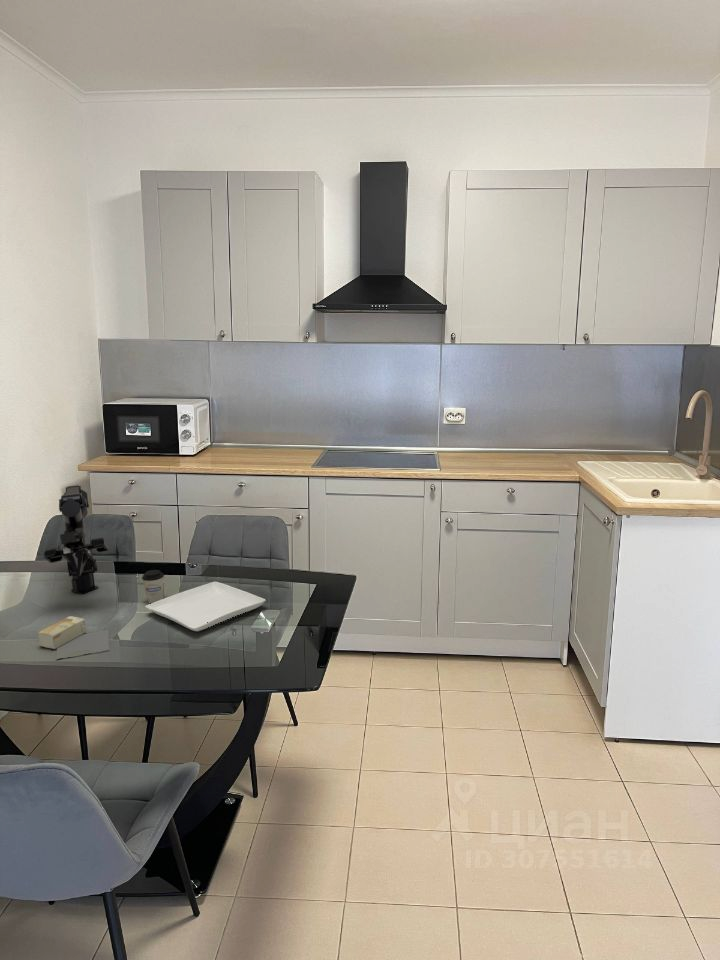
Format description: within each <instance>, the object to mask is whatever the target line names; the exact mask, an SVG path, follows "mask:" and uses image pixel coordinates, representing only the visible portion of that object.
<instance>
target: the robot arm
mask: <svg viewBox="0 0 720 960" xmlns="http://www.w3.org/2000/svg"><path fill="white" fill-rule="evenodd" d="M88 508H90V502H89V496H88V492H86V491H84V490H83V489H82V487H81V485H78V484H77V485H69V486H66V487H65V492H64V493H63V495H61V497H60V499H58V510H59V512H60V513H61V516H62V519H63V522H64V533H61V534H60V535H59V539H60V544H61V545H62V546H63V547H64V548H63V549H61V550H60V549H59V548H58V547H56V546H55V547H51V548H47V549H44V552H43V558H44V559H45V560H46V561H47V562H48V563H50V564H52V563H53V564H54V563H58V562H61V561H62V560H63V559H65V560H66V563H67V565H66V566H67V571H68V576H69V577H71V587H72V588H71V590H70V591H71V592H73V593H77V594H81V595H83V594H86V593H89V592H91V591H94V590H96V589H99V586H97V585H96V583H95V577H94V574H95V573H96V572H98V564H97V559H95V557H94V555H92V553H91V551H92V550H96V551H97V552H99V553H103V552H108V551H109V550H110V548H109V543H108V542H107V540H106V539H105V538H103V537H98V538H93V539H91V540H90V543H89V544H87V542H86V538H87V537H86V536H87V535H86V531H85V521H84V519H86V516H87V515H88V514H89V513H88Z"/></svg>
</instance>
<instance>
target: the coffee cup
mask: <svg viewBox="0 0 720 960" xmlns="http://www.w3.org/2000/svg"><path fill="white" fill-rule="evenodd" d="M141 576H142V577H141V579H142V582H143V585H144V589H145V593H146V597H147V601H148V604H150V603H154V602H157V601H159V600H162V599H164V577H165V575H164V573H163V572H162V571H161V570H160V569H151V570H147V571H145V573H144V574H143V575H141Z"/></svg>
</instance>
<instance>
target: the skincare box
mask: <svg viewBox="0 0 720 960" xmlns="http://www.w3.org/2000/svg"><path fill="white" fill-rule="evenodd" d="M86 633H87V627H86V619H84V618H83V617H82V618H81V617H78V616H77V617H76V616H70V615H69V616H67V617H65V618H64V619H61V620H59V621H58V622H56V623H54V624H52V625H50V626H48V627H46V628H44V629H42V630H41V631H40V630H39V631H38V632H37V639H38V640H37V641H38V645H39V647H44V648H47V649H52V650H57V648H58V647H60V646H61V645H63V644H65V643H67V642H69V641H70V640H72V639H74V638H76V637H78V636H80V635H82V634H86Z"/></svg>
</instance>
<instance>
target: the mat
mask: <svg viewBox="0 0 720 960" xmlns="http://www.w3.org/2000/svg"><path fill="white" fill-rule="evenodd" d="M109 632H110V631H109V629H106V630H100V631H94V632H88V633H83V634H81V635H80V636H78V637H76V638H74V639H72V640H70V641H69V642H67V643H65V644H63V645H61V646H60V647H58V648H56V653H57V652H59V651H60V652H65V651H71V652H73V651H78V650H80V651H83V650H86V649H89V650H91V651H92V650H93V651H94V652H99V651H106V652H110V651H109V650H110V637H109V636H110V635H109V634H110V633H109Z"/></svg>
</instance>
